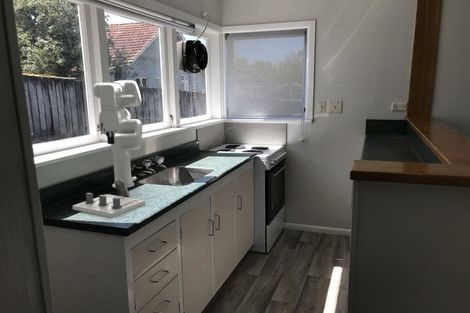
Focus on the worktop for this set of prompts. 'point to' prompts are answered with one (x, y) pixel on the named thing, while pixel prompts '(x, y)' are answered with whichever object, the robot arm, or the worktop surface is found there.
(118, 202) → the cylinder
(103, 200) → the breaker
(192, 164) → the worktop surface
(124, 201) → the white base plate
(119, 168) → the robot arm
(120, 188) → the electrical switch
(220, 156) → the worktop surface
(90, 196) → the breaker
